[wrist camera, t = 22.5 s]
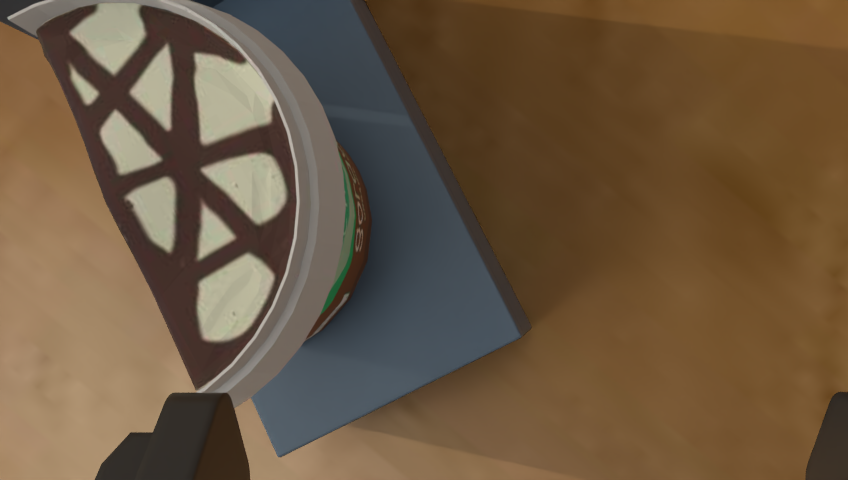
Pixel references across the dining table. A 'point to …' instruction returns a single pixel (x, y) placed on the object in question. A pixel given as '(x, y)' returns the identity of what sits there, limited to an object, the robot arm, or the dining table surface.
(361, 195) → the food container
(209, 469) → the robot arm
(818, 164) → the dining table surface
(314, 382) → the blue toy chair
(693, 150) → the dining table surface
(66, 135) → the dining table surface
